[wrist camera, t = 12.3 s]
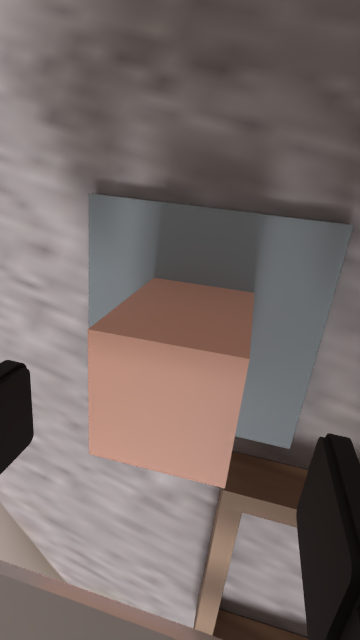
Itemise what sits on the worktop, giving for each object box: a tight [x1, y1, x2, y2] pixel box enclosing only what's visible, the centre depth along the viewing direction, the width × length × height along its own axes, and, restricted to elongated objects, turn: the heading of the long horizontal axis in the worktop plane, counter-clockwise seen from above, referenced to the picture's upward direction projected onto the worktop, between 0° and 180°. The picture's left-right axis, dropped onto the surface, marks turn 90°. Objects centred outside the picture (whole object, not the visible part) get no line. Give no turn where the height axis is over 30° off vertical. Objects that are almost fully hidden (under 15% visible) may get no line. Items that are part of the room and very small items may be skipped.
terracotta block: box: [88, 278, 254, 488], centre depth 14 cm, size 5×5×7 cm
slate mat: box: [89, 194, 353, 449], centre depth 18 cm, size 12×12×1 cm
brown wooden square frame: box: [193, 451, 308, 640], centre depth 21 cm, size 16×16×3 cm
